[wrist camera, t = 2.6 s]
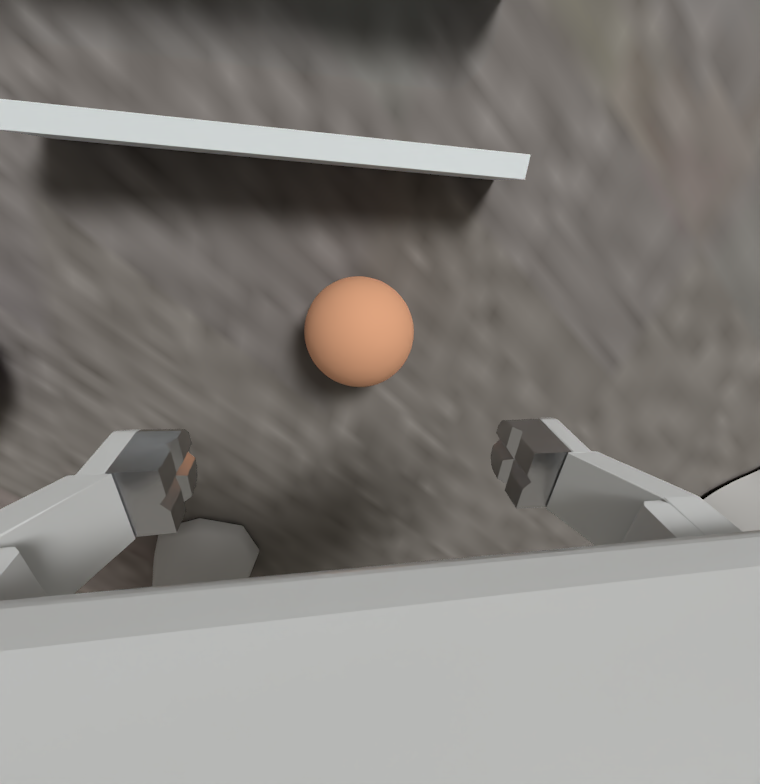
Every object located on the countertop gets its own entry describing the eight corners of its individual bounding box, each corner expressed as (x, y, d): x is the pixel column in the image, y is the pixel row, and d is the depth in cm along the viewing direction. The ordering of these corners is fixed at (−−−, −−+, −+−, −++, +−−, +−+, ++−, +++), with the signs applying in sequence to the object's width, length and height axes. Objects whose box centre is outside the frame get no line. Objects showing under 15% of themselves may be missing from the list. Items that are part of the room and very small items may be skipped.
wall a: (498, 159, 16) (530, 154, 13) (494, 180, 16) (524, 179, 14) (46, 113, 14) (-21, 96, 11) (54, 138, 14) (-10, 128, 11)
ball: (408, 269, 18) (432, 295, 14) (398, 360, 20) (416, 407, 16) (306, 263, 17) (298, 289, 13) (308, 358, 20) (302, 407, 15)
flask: (143, 516, 24) (38, 701, 16) (255, 512, 25) (215, 684, 17) (166, 582, 28) (91, 762, 19) (264, 577, 29) (234, 745, 20)
